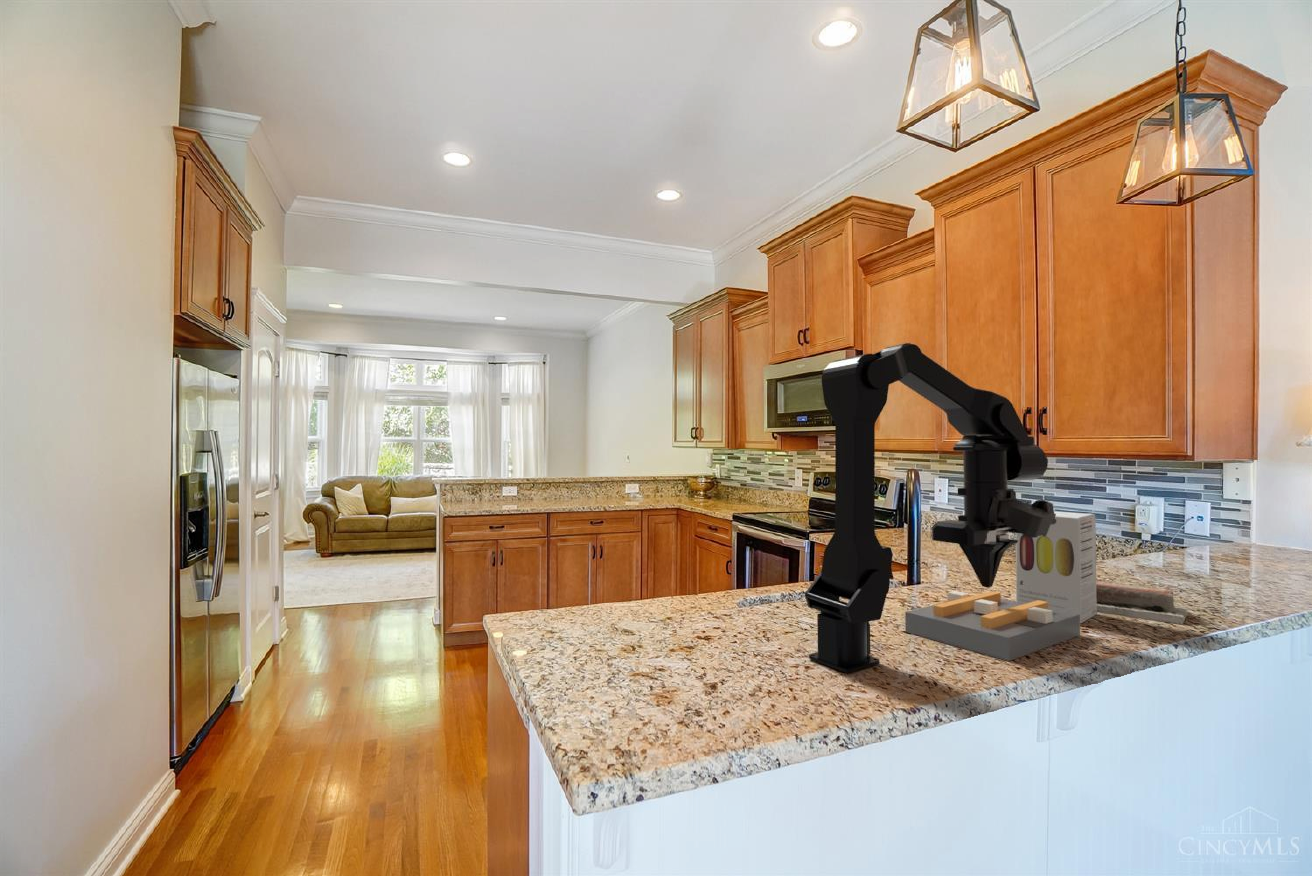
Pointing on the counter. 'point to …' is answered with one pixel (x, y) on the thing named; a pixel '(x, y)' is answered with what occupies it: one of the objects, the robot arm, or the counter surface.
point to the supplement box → (1060, 565)
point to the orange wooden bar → (963, 604)
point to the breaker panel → (995, 629)
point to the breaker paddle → (985, 606)
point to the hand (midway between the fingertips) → (987, 587)
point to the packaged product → (1138, 602)
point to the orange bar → (1010, 614)
